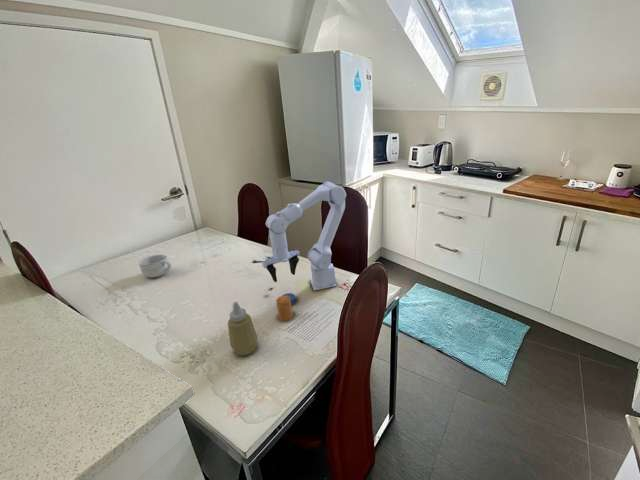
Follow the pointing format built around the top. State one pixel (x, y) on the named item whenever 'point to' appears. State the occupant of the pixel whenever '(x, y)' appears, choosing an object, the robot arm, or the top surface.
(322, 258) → the robot arm
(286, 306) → the jar
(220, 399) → the top surface
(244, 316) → the squeeze bottle
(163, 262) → the teacup
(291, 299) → the lid
